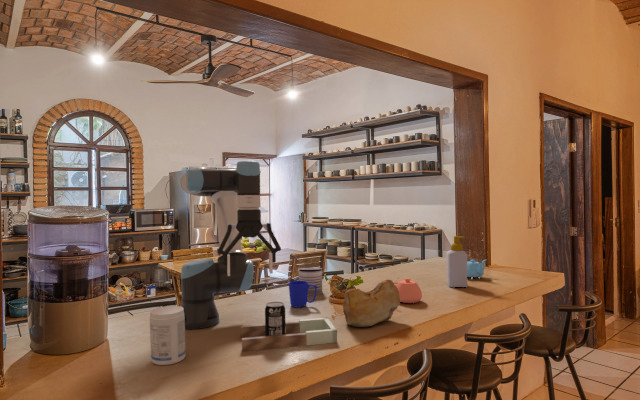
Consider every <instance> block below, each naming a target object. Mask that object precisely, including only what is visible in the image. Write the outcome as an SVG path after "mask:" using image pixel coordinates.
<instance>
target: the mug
mask: <svg viewBox="0 0 640 400" xmlns="http://www.w3.org/2000/svg"><path fill="white" fill-rule="evenodd" d="M310 286H313V287H315V295H313V299H312V300H309V298H308V297H309V295H308V288H309V287H310ZM288 291H289V303H290V305H291V307H293V308H303V307H306V306H307V304H308V303H309V304H312V303H315V301H316V297H317V294H316V291H317V285H310V284H308V282H306V281H299V280H292V281H289V282H288Z"/></svg>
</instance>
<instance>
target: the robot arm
mask: <svg viewBox="0 0 640 400" xmlns="http://www.w3.org/2000/svg"><path fill="white" fill-rule="evenodd" d="M260 165H261V164H260V162H259V161H256V160H240V161H237V162H236V167H235V168H189V169H187V170H186V172H185V173H184V174H183V175H181V178H180V185H181V186H180V187H181V189H182V190H183V191H184V192H185V193H187V194H189V195H192V196H197V197H210V201H211V202H212V203H213V204H214V205H215V215H216V223H217V232H218V241H219V247H218V249H217V254H219V255H218V257H217V262H215V260H214V259H213V258H202V259H201V258H200V259H195V260H191V261H188V262H186V263H184V264H183V265H182V266H181V271H180V272H181V273H180V279H181V305H180V306H181V307H183V308H184V317H185V330H187V329H188V330H195V329H196V330H198V329H205V328H206V329H207V328H209V327H213V326H215V325H217V324H218V323H219V322H220V314H219V311H218V308H217V306H216V302H215V294H223V293H231V292H239V293H240V292H241V291H247V290H249V289H250V288H251V286H252V285H253V279H254V272H255V271H254V267H255V266H254V261H253V260H252V259H248V254H247V253H245V251H243V246H242V238H245V239H248V238H251V239H252V238H255V237H258V238H259V240H260V241H262V243H263V244H264V245H265V246H266V248H268V249H269V251H270V252H268V272H269V274H273V272H274V270H273V269H274V268H273V266H274V265H273V264H274V263H276V261H277V259H276V258H277V257H276V255H277V252H281V251H282V248H281V246H280V243H279V242H278V240H277V237H276V236H275V234H274V232H273V231H272V225H271V223H270V222H267V223H262V213H261V211H262V210H261V209H259V208H261V167H260ZM263 228H264V230H265V231H267V234H268V235H269V238H270V239H271V241H272V243H273V245H274V247H273V246H272V244H270V242H269V241H268V240H267V239H266V238H265V237H264V235H263V234H262V233H261V230H262V229H263Z"/></svg>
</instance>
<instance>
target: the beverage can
mask: <svg viewBox="0 0 640 400" xmlns="http://www.w3.org/2000/svg"><path fill="white" fill-rule="evenodd" d="M265 305H266V306H265V308H264V319H265V320H264V324H265V336H274V335H285V334H286V327H285V322H286V307H285V303H284V302H281V301H270V302H267V303H266V304H265Z"/></svg>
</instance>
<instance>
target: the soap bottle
mask: <svg viewBox="0 0 640 400" xmlns="http://www.w3.org/2000/svg"><path fill="white" fill-rule="evenodd" d="M460 239H465V236H463V235H461V236H460V235H459V236H458V235H454V236H453V243H451V246H450V249H449V250H448V251H446V284H447V286H448V287H449V286H450V287H449V288H455V287H466V288H468V278H467V262H468V253H467V252H466V251H464V249H463V244H462V243H460Z"/></svg>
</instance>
